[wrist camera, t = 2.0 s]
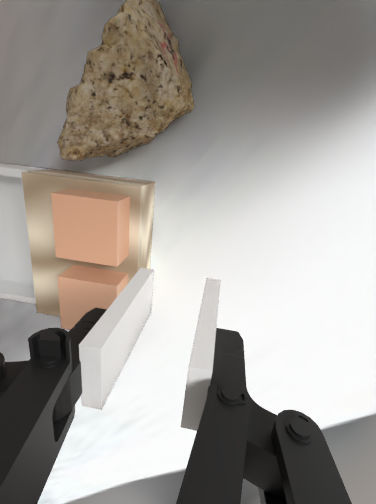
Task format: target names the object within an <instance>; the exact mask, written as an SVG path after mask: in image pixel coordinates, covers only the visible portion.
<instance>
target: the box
mask: <svg viewBox="0 0 376 504" xmlns="http://www.w3.org/2000/svg"><path fill="white" fill-rule="evenodd" d="M39 170H49V169H46V168H38V167H30V166H22V165H14V164H5V163H0V298H4V299H9V300H15V301H21V302H26V303H32V304H36V299H35V290H34V281H33V272H32V263H31V254H30V245H29V236H28V227H27V218H26V209H25V200H24V191H23V182H22V173H21V172H27V171H39Z"/></svg>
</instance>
